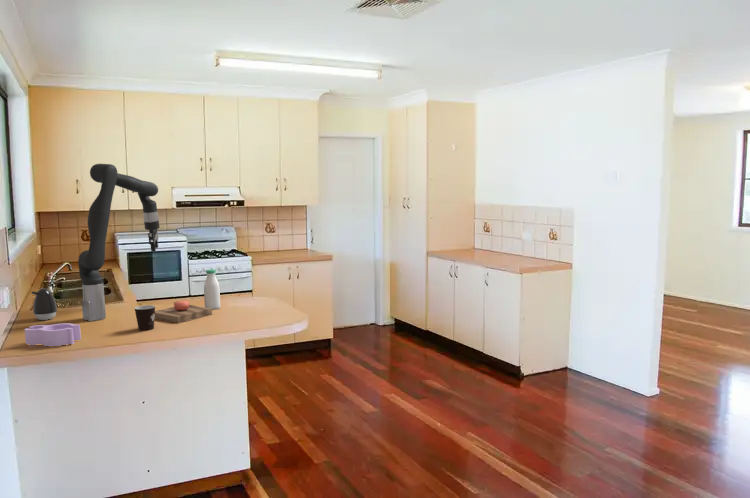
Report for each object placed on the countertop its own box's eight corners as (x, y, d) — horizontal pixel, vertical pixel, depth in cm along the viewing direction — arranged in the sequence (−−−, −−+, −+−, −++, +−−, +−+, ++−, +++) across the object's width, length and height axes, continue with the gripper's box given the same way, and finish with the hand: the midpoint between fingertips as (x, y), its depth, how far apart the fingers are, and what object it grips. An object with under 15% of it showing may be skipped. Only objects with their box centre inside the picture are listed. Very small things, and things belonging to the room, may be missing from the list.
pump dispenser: (30, 319, 296) (27, 288, 294) (53, 315, 303) (50, 285, 301) (37, 322, 289) (35, 291, 287) (61, 318, 296) (58, 288, 295)
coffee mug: (144, 332, 268) (142, 310, 267) (131, 330, 272) (130, 308, 271) (166, 326, 278) (164, 305, 276) (153, 324, 282) (152, 303, 281)
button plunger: (180, 310, 292) (180, 304, 292) (171, 308, 296) (170, 302, 295) (192, 307, 298) (191, 301, 297) (182, 306, 302) (182, 300, 301)
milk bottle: (223, 307, 315) (221, 269, 313) (212, 310, 309) (210, 271, 306) (213, 306, 320) (211, 268, 317) (201, 308, 313) (199, 270, 311)
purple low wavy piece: (20, 348, 247) (18, 331, 246) (36, 339, 259) (35, 324, 258) (70, 347, 247) (69, 330, 247) (84, 338, 260) (82, 322, 259)
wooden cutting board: (178, 323, 283) (178, 316, 283) (151, 318, 295) (151, 311, 294) (212, 314, 300) (211, 308, 300) (185, 310, 311) (185, 304, 311)
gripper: (146, 218, 333) (149, 247, 336) (141, 223, 319) (145, 253, 323) (160, 217, 334) (164, 246, 338) (156, 222, 320) (160, 252, 324)
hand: (154, 249), depth 330 cm, fingers open, 8 cm apart
